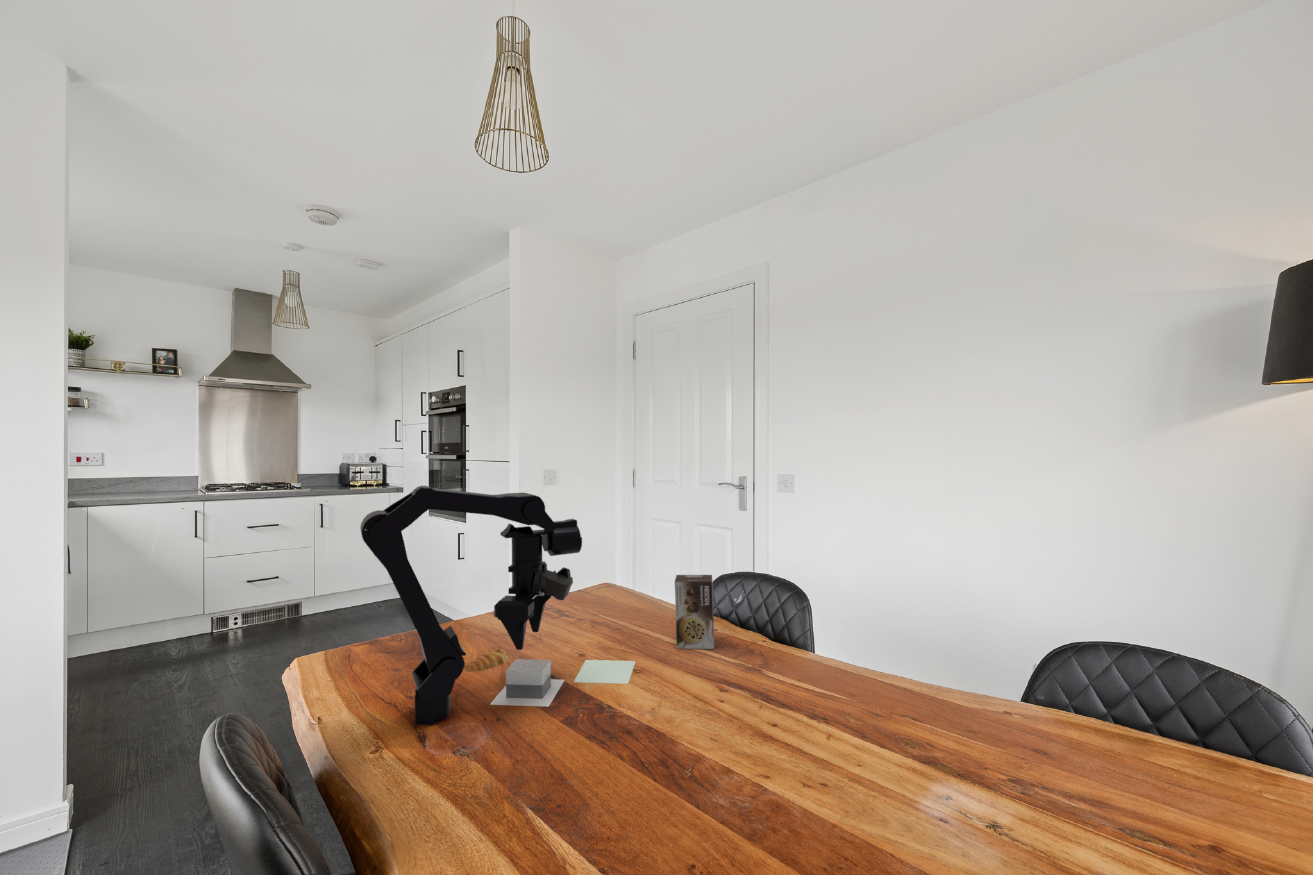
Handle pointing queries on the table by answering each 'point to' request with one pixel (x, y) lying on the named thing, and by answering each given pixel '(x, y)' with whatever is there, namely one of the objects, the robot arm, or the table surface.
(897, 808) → the table surface
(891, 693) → the table surface
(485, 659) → the pastry
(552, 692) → the stand
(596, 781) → the table surface
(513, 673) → the block
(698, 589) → the coffee box
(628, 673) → the stand
